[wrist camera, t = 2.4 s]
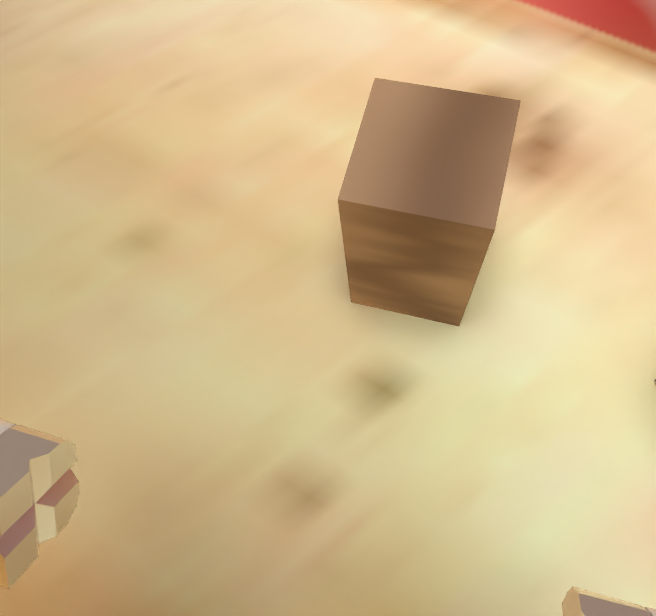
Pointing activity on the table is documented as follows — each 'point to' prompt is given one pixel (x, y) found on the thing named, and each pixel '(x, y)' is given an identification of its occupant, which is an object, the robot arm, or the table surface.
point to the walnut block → (423, 196)
